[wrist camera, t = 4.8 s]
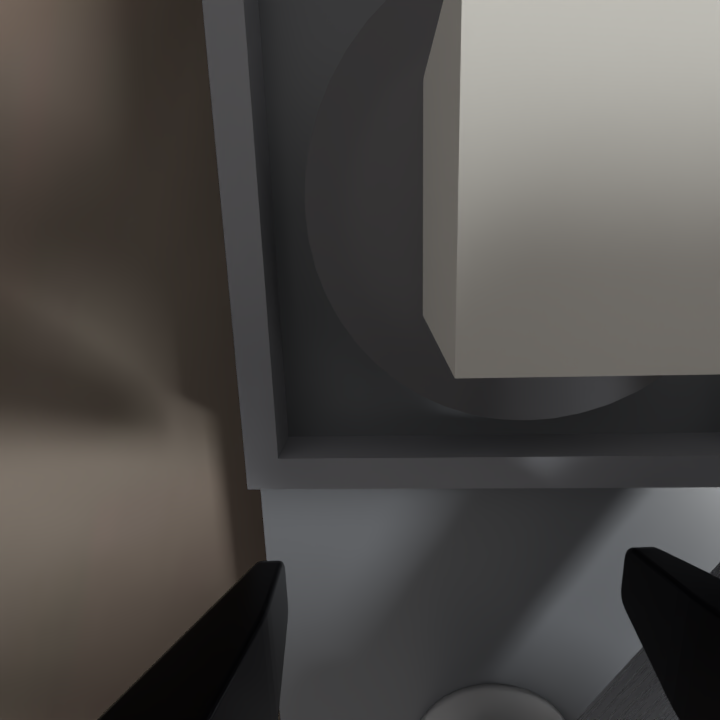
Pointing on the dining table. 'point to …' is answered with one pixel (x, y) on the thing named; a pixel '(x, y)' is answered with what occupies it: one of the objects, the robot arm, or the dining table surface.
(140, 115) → the dining table surface
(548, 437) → the socket base
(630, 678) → the pivoting lever handle
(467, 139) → the plug
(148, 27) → the dining table surface
